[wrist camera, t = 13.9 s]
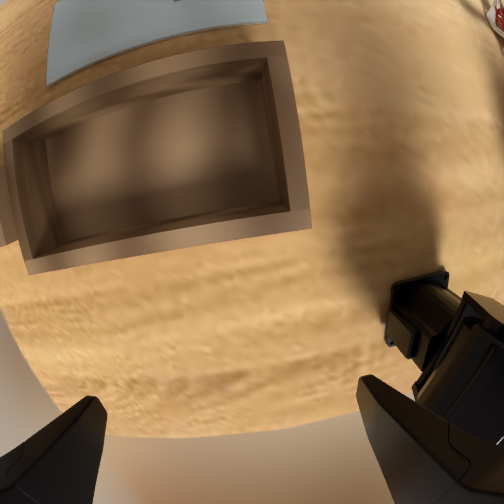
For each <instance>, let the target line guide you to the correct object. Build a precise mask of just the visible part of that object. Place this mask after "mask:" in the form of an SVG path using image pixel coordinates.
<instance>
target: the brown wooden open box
mask: <svg viewBox="0 0 504 504" xmlns="http://www.w3.org/2000/svg"><path fill="white" fill-rule="evenodd" d="M3 145H4V160H5V166H1V167H0V247H2V246H5V245H8V244H10V243H12V242H14V241H16V240H18V241H19V245H20V248H21V252H22V255H23V259H24V262H25V265H26V268H27V271H28V275H33V274H39V273H44V272H49V271H55V270H60V269H66V268H71V267H77V266H82V265H88V264H93V263H99V262H104V261H110V260H116V259H122V258H127V257H133V256H139V255H145V254H151V253H157V252H163V251H169V250H175V249H181V248H187V247H193V246H199V245H206V244H212V243H218V242H225V241H231V240H237V239H244V238H250V237H257V236H263V235H270V234H277V233H283V232H290V231H297V230H304V229H311V228H312V224H311V213H310V203H309V194H308V185H307V177H306V169H305V161H304V154H303V147H302V140H301V133H300V126H299V120H298V114H297V108H296V102H295V96H294V91H293V85H292V80H291V74H290V69H289V64H288V59H287V55H286V50H285V45H284V41H266V42H253V43H243V44H234V45H227V46H220V47H213V48H207V49H202V50H197V51H192V52H187V53H182V54H178V55H174V56H170V57H166V58H162V59H158V60H154V61H151V62H148V63H144V64H141V65H138V66H135V67H131V68H128V69H125V70H123V71H120V72H117V73H114V74H112V75H109V76H106V77H104V78H101V79H99V80H96V81H94V82H91V83H89V84H87V85H84V86H82V87H80V88H78V89H76V90H73V91H71V92H69V93H67V94H65V95H63V96H61V97H59V98H57V99H55V100H53V101H51V102H50V103H48V104H46V105H44V106H42V107H40V108H39V109H37V110H35V111H33V112H32V113H30V114H28V115H27V116H25V117H24V118H22V119H20V120H19V121H17V122H16V123H14V124H13V125H11V126H10V127H8V128H7V129H5V130H4V131H3Z"/></svg>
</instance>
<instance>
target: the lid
mask: <svg viewBox="0 0 504 504" xmlns="http://www.w3.org/2000/svg"><path fill="white" fill-rule="evenodd" d="M267 22H268V20H267V16H266V12H265V8H264V3H263V0H61V1H59V2H57V3H55V7H54V12H53V18H52V24H51V31H50V38H49V47H48V59H47V76H46V86H51V85H53V84H55V83H56V82H58V81H60V80H62V79H64V78H66V77H68V76H70V75H72V74H74V73H76V72H78V71H80V70H82V69H84V68H87V67H89V66H91V65H93V64H96V63H98V62H101V61H103V60H105V59H108V58H111V57H113V56H116V55H118V54H121V53H124V52H127V51H130V50H133V49H136V48H139V47H142V46H145V45H148V44H152V43H155V42H159V41H162V40H166V39H170V38H174V37H178V36H183V35H187V34H192V33H197V32H202V31H208V30H213V29H220V28H227V27H235V26H244V25H255V24H267Z"/></svg>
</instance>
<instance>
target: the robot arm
mask: <svg viewBox="0 0 504 504" xmlns="http://www.w3.org/2000/svg"><path fill="white" fill-rule="evenodd" d="M444 275H445V276H444ZM448 281H449V272H447V271H446V270H442V271H439V272H435V273H431V274H427V275H424V276H420V277H416V278H412V279H408V280H404V281H400V282H396V283H394V284H393V286H392V289H391V301H390V308H389V311H388V320H387V329H386V334H387V336H386V344H387V345H388V347H392V346H395V345H396V346H397V347H398V349H399V350H400V351H401V352H402V354H403V355H404V356H405V358H407V359H412V360H413V361H414V363H415V364H416V365H417V366H418V368H419V369H420V370H421V371H422V374H421V376H420V377H419V379H418V380H417V381H416V382H415V383H414V384H413V386H412V391H413V394H414V398H415V401H413V400H411V399H410V398H408V397H407V396H405V395H404V394H402V393H400V392H399V391H397V390H396V389H394V388H392V387H391V386H389V385H388V384H386V383H385V382H383V381H381V380H380V379H378V378H377V377H375V376H374V375H371V374H369V375H365V376H361V377H360V378H359V380H358V386H357V392H356V398H357V402H358V405H359V409H360V412H361V416H362V419H363V423H364V426H365V430H366V433H367V436H368V439H369V442H370V444H371V446H372V449H373V451H374V453H375V456H376V458H377V460H378V463H379V465H380V468H381V470H382V473H383V475H384V478H385V480H386V483H387V485H388V488H389V490H390V493H391V495H392V498H393V500H394V503H395V504H504V305H502V304H500V303H499V302H497V301H495V300H494V299H492V298H489V297H485V296H482V295H478V294H475V293H471V292H468V291H464V293H463V296H462V298H460V297H459V296H458V295H456V294H455V293H453V292H452V291H451V290H449V289H448ZM398 287H399V288H398ZM397 288H398V290H396V289H397ZM106 423H107V412H106V410H105V408H104V406H103V405H102V403H101V402H100V400H99V399H98V398H97V397H96V396H85V397H84V398H83V399H81V400H80V401H79V402H77V403H76V404H75V405H73V406H72V407H71V408H69V409H68V410H67V411H65V412H64V413H63V414H61V415H60V416H59V417H57V418H56V419H54V420H53V421H52V422H50V423H49V424H48V425H46V426H45V427H44V428H42V429H41V430H39V431H38V432H37V433H35V434H34V435H33V436H31V437H30V438H28V439H27V440H26V441H25V442H23V443H22V444H20V445H19V446H17V447H16V448H15V449H13V450H11V451H10V452H8V453H7V454H5V455H3V456H2V457H0V504H92V503H93V497H94V490H95V485H96V480H97V474H98V470H99V465H100V461H101V456H102V452H103V444H104V437H105V430H106Z"/></svg>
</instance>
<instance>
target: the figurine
mask: <svg viewBox="0 0 504 504" xmlns="http://www.w3.org/2000/svg"><path fill="white" fill-rule="evenodd" d="M498 1H499V4H500V8H499V9H497V8H496V6H497V0H494V2H493V4H492V6H491V8H490V9H489V11H488V13H487V14H486V17H487V19H488V21H489V23H490V25H491V27H492V28H493V30H494V31H496V32H497V33H498V34H499V35H501V36H502V37H503V38H504V8H503V5H502V2H501V0H498ZM495 12H496V21H497V23H498V24H499V26H500V28H501V29H500V28H498V27H497V26H496V24H495ZM498 14H499V15H500V16H501V17H502V18H500V17H499V16H498ZM503 55H504V54H503Z"/></svg>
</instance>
